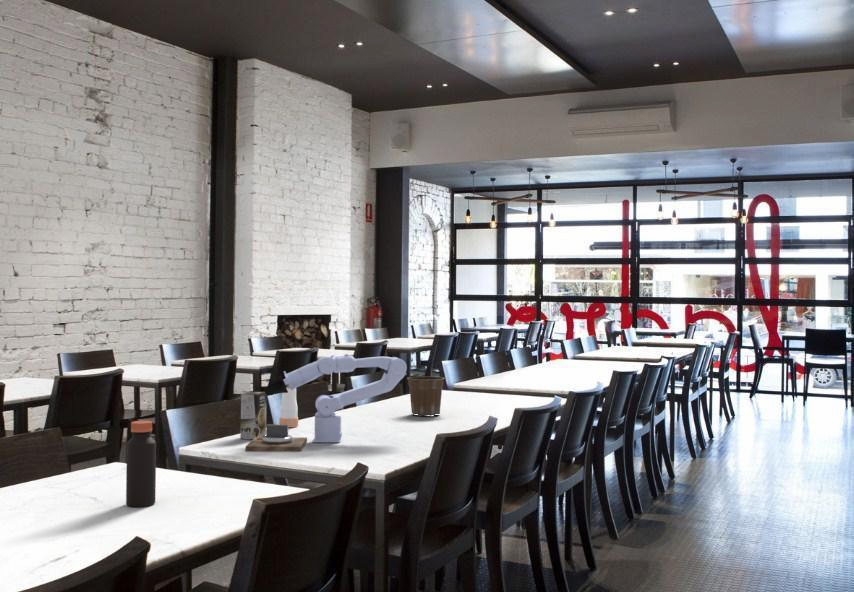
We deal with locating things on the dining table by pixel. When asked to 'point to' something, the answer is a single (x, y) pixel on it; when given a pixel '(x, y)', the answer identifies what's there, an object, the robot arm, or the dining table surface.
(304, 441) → the dial plate
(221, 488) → the dining table surface
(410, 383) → the plant pot
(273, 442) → the dial
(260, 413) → the coffee box
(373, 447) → the dining table surface
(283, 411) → the pepper shaker
